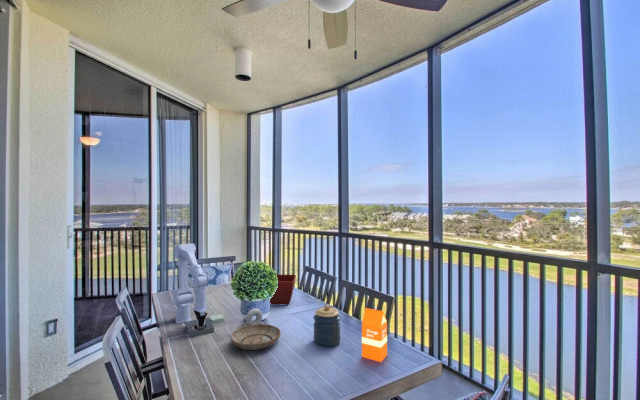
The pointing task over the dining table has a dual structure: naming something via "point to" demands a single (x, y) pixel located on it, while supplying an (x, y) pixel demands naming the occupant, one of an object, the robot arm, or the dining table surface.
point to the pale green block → (216, 318)
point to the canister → (326, 327)
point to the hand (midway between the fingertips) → (200, 325)
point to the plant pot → (284, 289)
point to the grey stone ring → (251, 314)
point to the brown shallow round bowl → (255, 336)
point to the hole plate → (193, 330)
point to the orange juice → (374, 335)
